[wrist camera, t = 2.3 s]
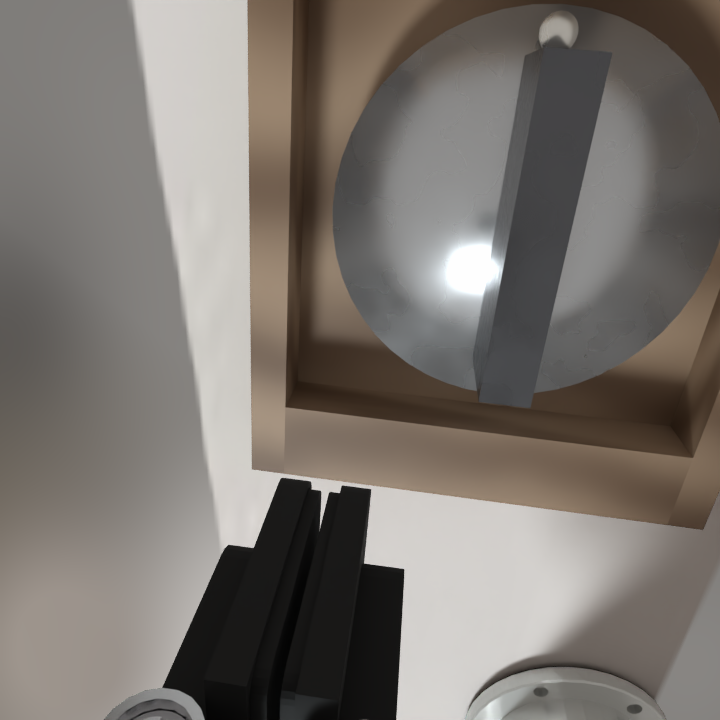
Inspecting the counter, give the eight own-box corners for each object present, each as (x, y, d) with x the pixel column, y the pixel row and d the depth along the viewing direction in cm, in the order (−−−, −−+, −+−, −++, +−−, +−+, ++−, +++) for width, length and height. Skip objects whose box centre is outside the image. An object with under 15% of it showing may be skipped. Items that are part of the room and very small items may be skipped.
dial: (647, 396, 25) (697, 466, 20) (329, 358, 26) (306, 416, 21) (769, 24, 19) (880, 2, 14) (349, -4, 20) (323, -35, 15)
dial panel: (669, 474, 28) (705, 532, 25) (271, 423, 30) (247, 471, 26) (899, -145, 18) (1021, -207, 14) (275, -173, 20) (237, -237, 16)
